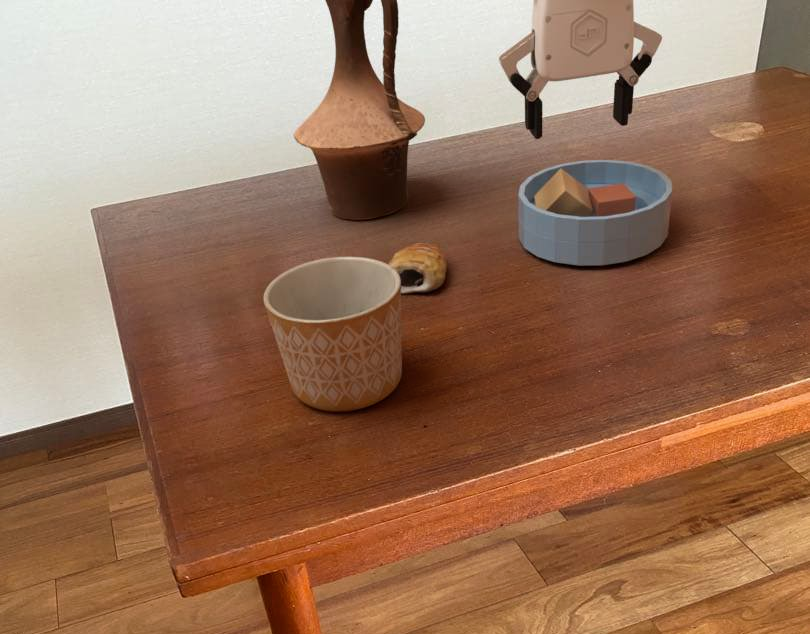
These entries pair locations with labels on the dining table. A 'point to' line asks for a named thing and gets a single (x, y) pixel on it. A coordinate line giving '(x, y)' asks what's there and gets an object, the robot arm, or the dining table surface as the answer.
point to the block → (564, 196)
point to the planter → (338, 330)
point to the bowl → (597, 235)
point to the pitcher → (362, 121)
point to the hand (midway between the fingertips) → (578, 128)
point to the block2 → (611, 200)
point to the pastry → (420, 267)
